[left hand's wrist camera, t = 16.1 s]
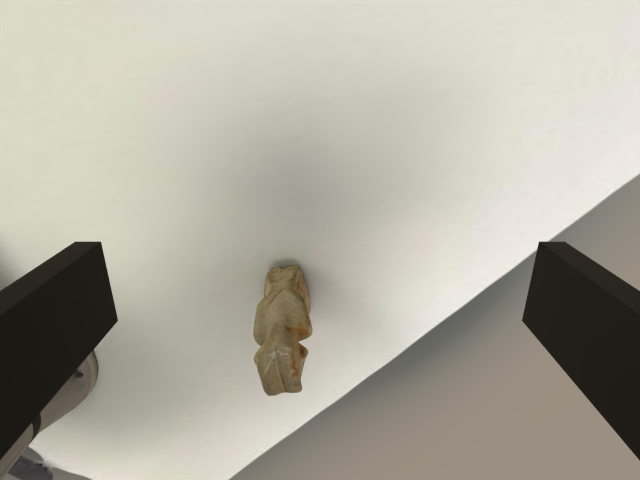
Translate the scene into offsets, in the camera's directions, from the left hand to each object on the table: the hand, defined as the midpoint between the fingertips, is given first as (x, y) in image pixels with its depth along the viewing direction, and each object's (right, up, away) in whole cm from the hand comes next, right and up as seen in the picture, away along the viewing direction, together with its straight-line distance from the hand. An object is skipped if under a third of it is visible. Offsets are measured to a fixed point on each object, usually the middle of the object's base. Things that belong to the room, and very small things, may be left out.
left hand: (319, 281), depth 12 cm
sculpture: (-4, -4, +36) cm, 36 cm away
